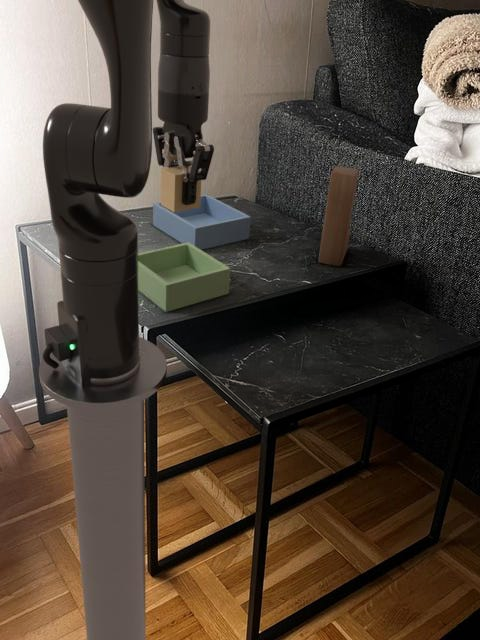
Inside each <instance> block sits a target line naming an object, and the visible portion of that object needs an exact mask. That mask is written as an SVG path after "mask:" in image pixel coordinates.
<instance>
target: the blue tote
mask: <svg viewBox="0 0 480 640" xmlns="http://www.w3.org/2000/svg"><path fill="white" fill-rule="evenodd" d="M251 220H252V217H251V216H250V215H248V214H246V213H244V212H242V211H240V210H238V209H237V208H234V207H233V206H231V205H229V204H227V203H225V202H223V201H221V200H219V199H217V198H215V197H213V196H211V195H209V194H207V193H205V194H201V198H200V208H196V209H190V210H185V211H180V212H173V211H171V210H169V209H167V208H166V207H164V206H162V205H161V201H160V202H154V203H152V226H154V227H156V228H157V229H159V230H160V231H161V232H164V233H165V234H166V235H168V236H170V237H171V238H173V239H174V240H176V241H178V242H179V243H180V244H183V243H187V242H189V243H190V244H192V245H194V246H195V247H197V248H199V249H200V250H202V251H203V250H207V249H211V248H215V247H220V246H224V245H229V244H232V243H236V242H241V241H244V240H249V239H250V233H251V232H250V231H251Z"/></svg>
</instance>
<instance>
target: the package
mask: <svg viewBox="0 0 480 640" xmlns="http://www.w3.org/2000/svg"><path fill="white" fill-rule="evenodd" d="M191 167H192V166H189V167H188V170H189V174H190V171H191ZM160 171H161V172H160V182H161V183H160V202H161V205H162V206H164V207H166V208H167V209H169V210H171V211H173V212H180V211H185V210H190V209H196V208H200V198H201V195H202V194H201V193H202V180H199V181H197V191H196V201H195V203H194V204H191V205H184V204H183V203H182V182H183V177H182V168H181V167H180V166H176V167H168V168H164V167H163V168H161V170H160ZM199 172H201V169H199Z"/></svg>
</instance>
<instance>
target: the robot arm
mask: <svg viewBox="0 0 480 640" xmlns="http://www.w3.org/2000/svg"><path fill="white" fill-rule="evenodd" d="M155 1H156V5H157V11H158V12H157V13H158V17H159V59H158V67H157V117H158V119H159V120H160V121H162V122H163V126H154V127H153V112H152V111H153V109H152V108H153V107H152V101H153V100H152V31H153V15H154V13H153V12H154V0H77V2H78V3H79V5H80V7H81V10H82V11H83V13H84V15H85V17H86V18H87V20H88V23H89V24H90V26H91V28H92V30H93V32H94V35H95V37H96V39H97V41H98V43H99V46H100V48H101V51H102V54H103V57H104V60H105V64H106V69H107V74H108V81H109V93H110V107H104V106H98V105H97V106H96V105H89V104H81V103H73V102H72V103H71V102H67V103H66V102H65V103H62V104H58V105H56V106H55V107H54V108H53V109H52V110H51V111H50V113H49V115H48V116H47V118H46V121H45V124H44V129H43V136H42V137H43V138H42V159H43V160H42V161H43V168H44V175H45V181H46V188H47V196H48V203H49V209H50V210H49V211H50V218H51V223H52V227H53V231H54V233H55V235H56V237H57V242H58V243H57V244H58V254H59V267H60V280H61V291H62V292H61V293H62V300H60V301H58V302H57V303H56V306H57V318H58V325H55V326H50V327H47V328H44V330H43V333H44V342H45V348H44V350H43V353H42V359H44V361H45V362H46V363H47V364H48V365H49V366H51V367H53V368H54V369H56V368H58V367H59V364H58V363H57V362H56V361H54V360H53V359H51V358H50V354H51V353H52V354H53V355H54V356H55V357H56V358H57V360H58V361H59V362H60V361H62V365H63V366H64V367H65V368H66V369H67V370H68V372H69V373H70V375H71V376H72V377H73V378H75V380H76V381H77V382H78V383H79V384H80V385H81V386H82V387H85V386H88V385H111V384H116V383H120V382H122V381H125V380H127V379H129V378H131V377H132V376H133V375H134V374H135V373H136V372H137V371H138V369H139V367H140V355H139V337H140V317H139V316H140V314H139V312H140V311H139V310H140V309H139V307H140V305H139V303H140V301H139V290H138V253H139V234H138V227H137V225H136V223H135V222H134V220H133V219H131V218H130V217H129V216H127V215H126V214H124V213H123V212H121V211H119V210H117V209H116V208H114V207H113V206H112V205H110V204H109V203H108V202H107V201H106V200H105V199H104V198H102V196H103V195H104V196H111V197H115V198H116V197H117V198H125V199H126V198H128V199H131V198H135V197H136V198H137V196H139V195H141V193H143V190H144V189H145V187H146V186H147V182H148V179H149V176H150V171H151V164H152V154H153V141H154V148H155V153H156V154H155V155H156V160H157V164H158V166H159V167H163V168H168V167H176V166H180V167H181V168H182V177H183V182H182V203H183V204H184V205H191V204H194V203H195V201H196V191H197V181H199V180H201V181H206V180H207V178H208V174H209V171H210V166H211V163H212V159H213V156H214V152H215V146H214V145H213V144H207V143H206V142H205V141H204V137H203V136H204V135H203V132H202V126H203V125H204V123H206V122H208V119H209V101H210V81H211V80H210V78H211V68H210V39H211V37H210V35H211V18H210V15H209V13H208V12H207V11H205V10H203V9H201V8H198V7H197V6H196V7H195V6H193V5H190V4H188V3H187V2H185V1H184V0H155ZM186 159H189V160H186ZM189 166H191V171H190V174H189V170H188V167H189ZM199 170H200V171H201V172H199ZM101 195H102V196H101Z"/></svg>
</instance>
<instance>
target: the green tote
mask: <svg viewBox="0 0 480 640" xmlns="http://www.w3.org/2000/svg"><path fill="white" fill-rule="evenodd" d="M230 281H231V267H230V266H228V265H226V264H225V263H223V262H221V261H219V260H218V259H216V258H214V257H213V256H212V255H210V254H208V253H206V252H205V251H203V250H200V249H199V248H197V247H195V246H194V245H192V244H190V243H189V242H187V243H183V244H182V243H179V244H175V245H174V244H173V245H170V246H166V247H161V248H157V249H152V250H151V249H150V250H148V251H143V252H138V292H140V293H141V294H143V295H144V296H145V297H146V298H148V299H149V300H150V301H151V302H153V303H154V304H155V305H156V306H158V307H159V308H160V309H161V310H162V311H164V312H165V313H167V312H171V311H174V310H179V309H181V308H185V307H188V306H191V305H195V304H198V303H202V302H205V301H208V300H212V299H215V298H218V297H222V296H226V295H229V294H230V284H231V283H230Z"/></svg>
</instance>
